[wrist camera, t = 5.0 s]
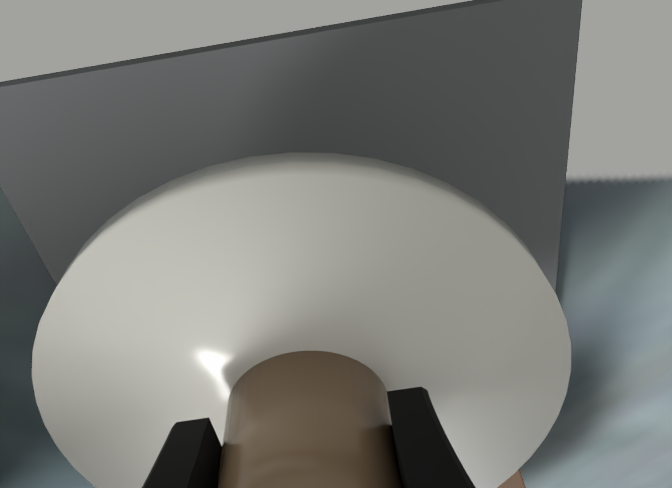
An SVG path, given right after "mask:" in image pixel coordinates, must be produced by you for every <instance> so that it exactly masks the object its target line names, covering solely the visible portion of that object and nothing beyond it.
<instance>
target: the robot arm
mask: <svg viewBox="0 0 672 488" xmlns="http://www.w3.org/2000/svg"><path fill="white" fill-rule="evenodd" d="M387 396H388V403H389V409H390V416H391V422H392V429H393V435H394V441H395V447H396V453H397V460H398V466H399V472H400V477H401V481H402V486H403V488H476V487H475V486H474V484H473V482H472V481H471V479H470V477H469V476H468V474H467V472H466V471H465V469H464V467H463V465H462V464H461V462H460V460H459V458H458V456H457V455H456V453H455V451H454V449H453V447H452V445H451V443H450V441H449V439H448V437H447V435H446V433H445V431H444V429H443V427H442V425H441V423H440V421H439V419H438V416H437V414H436V412H435V409H434V407H433V405H432V402H431V399H430V397H429V394H428V391H427V390H426V389H424V388H423V387H414V388H407V389H400V390H393V391H387ZM221 452H222V446H221V443H220V441H219V439H218V437H217V434H216V432H215V430H214V428H213V425H212V423H211V421H210V419H209V417H208V418H202V419H195V420H188V421H181V422H176V423H175V424H174V425H173V427H172V428H171V430H170V432H169V435H168V437H167V439H166V441H165V443H164V445H163V447H162V449H161V451H160V453H159V455H158V457H157V459H156V461H155V463H154V465H153V467H152V469H151V471H150V473H149V475H148V477H147V479H146V481H145V483H144V484H143V486H142V488H217V482H218V475H219V467H220V459H221Z"/></svg>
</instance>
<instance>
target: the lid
mask: <svg viewBox="0 0 672 488" xmlns="http://www.w3.org/2000/svg"><path fill="white" fill-rule="evenodd" d="M570 373H571V341H570V336H569V331H568V326H567V320H566V318H565V315H564V313H563V310H562V308H561V305H560V303H559V300H558V298H557V295H556V293H555V292H554V290H553V288H552V287H551V285H550V283H549V281H548V280H547V278H546V276H545V275H544V273H543V271H542V270H541V268H540V266H539V265H538V263H537V262H536V260H535V258H534V257H533V255H532V254H531V252H530V251H529V249H528V247H527V246H526V244H525V243H524V242H523V241H522V240H521V239H520V238H519V236H518V235H517V234H516V233H515V232H514V231H513V230H512V229H511V228H510V227H509V225H508V224H507V223H506V222H505V221H504V220H502V219H501V218H500V217H499V216H497V215H496V214H495V213H494V212H492V211H491V210H490V209H489V208H487V207H486V206H485V205H484V204H482V203H481V202H480V201H478V200H477V199H475V198H473V197H472V196H470V195H468V194H466V193H465V192H463V191H461V190H460V189H458V188H456V187H454V186H453V185H451V184H449V183H447V182H445V181H442V180H440V179H437V178H435V177H432V176H430V175H428V174H425V173H423V172H420V171H418V170H415V169H413V168H409V167H405V166H401V165H398V164H394V163H390V162H386V161H382V160H379V159H375V158H368V157H360V156H353V155H346V154H338V153H306V152H289V153H280V154H271V155H261V156H252V157H246V158H242V159H238V160H233V161H229V162H225V163H220V164H216V165H212V166H208V167H205V168H203V169H200V170H197V171H195V172H192V173H189V174H186V175H184V176H181V177H178V178H176V179H173V180H170V181H169V182H167V183H165V184H163V185H161V186H159V187H157V188H155V189H154V190H152V191H150V192H148V193H146V194H144V195H142V196H140V197H139V198H137V199H136V200H134V201H133V202H131V203H130V204H129V205H127V206H126V207H125V208H123V209H122V210H121V211H119V212H118V213H116V214H115V215H114V216H112V217H111V218H110V219H108V220H107V221H106V222H105V223H104V224H103V225H102V226H101V227H100V228H99V229H98V230H97V231H96V232H95V233H94V234H93V235H92V236H91V237H90V238H89V239H88V240H87V241H86V242H85V244H84V245H83V247H82V248H81V249H80V251H79V252H78V254H77V255H76V256H75V258H74V259H73V261H72V262H71V264H70V265H69V266H68V268H67V269H66V271H65V273H64V275H63V277H62V278H61V280H60V282H59V284H58V285H57V287H56V289H55V291H54V293H53V294H52V296H51V298H50V300H49V303H48V305H47V307H46V309H45V311H44V313H43V316H42V318H41V320H40V322H39V325H38V329H37V334H36V338H35V342H34V346H33V351H32V381H33V387H34V393H35V399H36V403H37V406H38V409H39V411H40V414H41V417H42V420H43V422H44V425H45V427H46V428H47V430H48V432H49V434H50V435H51V437H52V439H53V441H54V442H55V444H56V446H57V447H58V449H59V450H60V451H61V452H62V454H63V455H64V456H65V457H66V459H67V460H68V461H69V462H70V464H71V465H72V466H73V467H74V468H75V469H76V470H77V471H78V472H79V473H80V474H81V475H82V476H83V477H84V478H85V479H87V480H88V481H89V482H90V483H91V484H92V485H93V486H95V487H96V488H142V486H143V484H144V483H145V481H146V479H147V477H148V475H149V473H150V471H151V469H152V467H153V465H154V463H155V461H156V459H157V457H158V455H159V453H160V451H161V449H162V447H163V445H164V443H165V441H166V439H167V437H168V435H169V432H170V430H171V428H172V427H173V425H174V424H175V423H176V422H181V421H188V420H195V419H202V418H208V417H209V419H210V421H211V423H212V425H213V428H214V430H215V432H216V434H217V437H218V439H219V441H220V443H221V446H222V452H221V459H220V467H219V475H218V482H217V488H403V486H402V481H401V477H400V472H399V466H398V460H397V453H396V447H395V441H394V435H393V429H392V422H391V416H390V409H389V403H388V396H387V391H393V390H400V389H407V388H414V387H423V388H424V389H426V390H427V391H428V394H429V397H430V399H431V402H432V405H433V407H434V409H435V412H436V414H437V416H438V419H439V421H440V423H441V425H442V427H443V429H444V431H445V433H446V435H447V437H448V439H449V441H450V443H451V445H452V447H453V449H454V451H455V453H456V455H457V456H458V458H459V460H460V462H461V464H462V465H463V467H464V469H465V471H466V472H467V474H468V476H469V477H470V479H471V481H472V482H473V484H474V486H475V487H476V488H497V487H498V486H500V485H501V484H502V483H503V482H505V481H506V480H507V479H508V478H510V477H511V476H512V475H513V474H514V473H515V472H516V471H517V470H518V469H519V468H520V467H521V466H522V465H523V464H524V463H525V462H526V461H527V460H528V459H529V458H530V457H531V456H532V455H533V454H534V452H535V451H536V450H537V448H538V447H539V446H540V444H541V443H542V442H543V441H544V439H545V438H546V436H547V435H548V433H549V431H550V429H551V428H552V426H553V424H554V422H555V421H556V419H557V417H558V415H559V412H560V410H561V407H562V404H563V402H564V399H565V396H566V394H567V389H568V384H569V378H570Z"/></svg>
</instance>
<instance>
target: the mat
mask: <svg viewBox="0 0 672 488" xmlns="http://www.w3.org/2000/svg"><path fill="white" fill-rule="evenodd" d="M581 8H582V0H473V1H467V2H462V3H456V4H450V5H444V6H438V7H432V8H426V9H421V10H415V11H409V12H404V13H397V14H392V15H386V16H380V17H374V18H369V19H363V20H357V21H351V22H345V23H340V24H334V25H328V26H322V27H316V28H311V29H305V30H299V31H293V32H288V33H282V34H277V35H271V36H264V37H259V38H253V39H247V40H241V41H236V42H230V43H224V44H218V45H212V46H207V47H201V48H195V49H189V50H183V51H178V52H172V53H166V54H160V55H154V56H149V57H143V58H137V59H131V60H126V61H120V62H114V63H108V64H102V65H98V66H91V67H85V68H79V69H73V70H68V71H62V72H56V73H51V74H44V75H39V76H33V77H27V78H21V79H16V80H10V81H4V82H0V187H1V189H2V191H3V193H4V195H5V196H6V198H7V200H8V202H9V203H10V205H11V207H12V209H13V210H14V212H15V214H16V216H17V217H18V219H19V221H20V223H21V225H22V226H23V228H24V230H25V232H26V233H27V235H28V237H29V239H30V240H31V242H32V244H33V246H34V247H35V249H36V251H37V253H38V254H39V256H40V258H41V260H42V262H43V263H44V265H45V267H46V269H47V270H48V272H49V274H50V276H51V277H52V279H53V281H54V283H55V284H56V286H57V285H58V284H59V282H60V280H61V278H62V277H63V275H64V273H65V271H66V269H67V268H68V266H69V265H70V264H71V262H72V261H73V259H74V258H75V256H76V255H77V254H78V252H79V251H80V249H81V248H82V247H83V245H84V244H85V242H86V241H87V240H88V239H89V238H90V237H91V236H92V235H93V234H94V233H95V232H96V231H97V230H98V229H99V228H100V227H101V226H102V225H103V224H104V223H105V222H106V221H107V220H108V219H110V218H111V217H112V216H114V215H115V214H116V213H118V212H119V211H121V210H122V209H123V208H125V207H126V206H127V205H129V204H130V203H131V202H133V201H134V200H136V199H137V198H139V197H140V196H142V195H144V194H146V193H148V192H150V191H152V190H154V189H155V188H157V187H159V186H161V185H163V184H165V183H167V182H169V181H170V180H173V179H176V178H178V177H181V176H184V175H186V174H189V173H192V172H195V171H197V170H200V169H203V168H205V167H208V166H212V165H216V164H220V163H225V162H229V161H233V160H238V159H242V158H246V157H252V156H261V155H271V154H280V153H289V152H306V153H338V154H346V155H353V156H360V157H368V158H375V159H379V160H382V161H386V162H390V163H394V164H398V165H401V166H405V167H409V168H413V169H415V170H418V171H420V172H423V173H425V174H428V175H430V176H432V177H435V178H437V179H440V180H442V181H445V182H447V183H449V184H451V185H453V186H454V187H456V188H458V189H460V190H461V191H463V192H465V193H466V194H468V195H470V196H472V197H473V198H475V199H477V200H478V201H480V202H481V203H482V204H484V205H485V206H486V207H487V208H489V209H490V210H491V211H492V212H494V213H495V214H496V215H497V216H499V217H500V218H501V219H502V220H504V221H505V222H506V223H507V224H508V225H509V227H510V228H511V229H512V230H513V231H514V232H515V233H516V234H517V235H518V236H519V238H520V239H521V240H522V241H523V242H524V243H525V244H526V246H527V247H528V249H529V251H530V252H531V254H532V255H533V257H534V258H535V260H536V262H537V263H538V265H539V266H540V268H541V270H542V271H543V273H544V275H545V276H546V278H547V280H548V281H549V283H550V285H551V287H552V288H553V290H554V292H555V290H556V279H557V268H558V257H559V246H560V235H561V225H562V214H563V203H564V192H565V181H566V170H567V159H568V148H569V137H570V127H571V116H572V104H573V95H574V83H575V72H576V62H577V51H578V40H579V29H580V19H581Z"/></svg>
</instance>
